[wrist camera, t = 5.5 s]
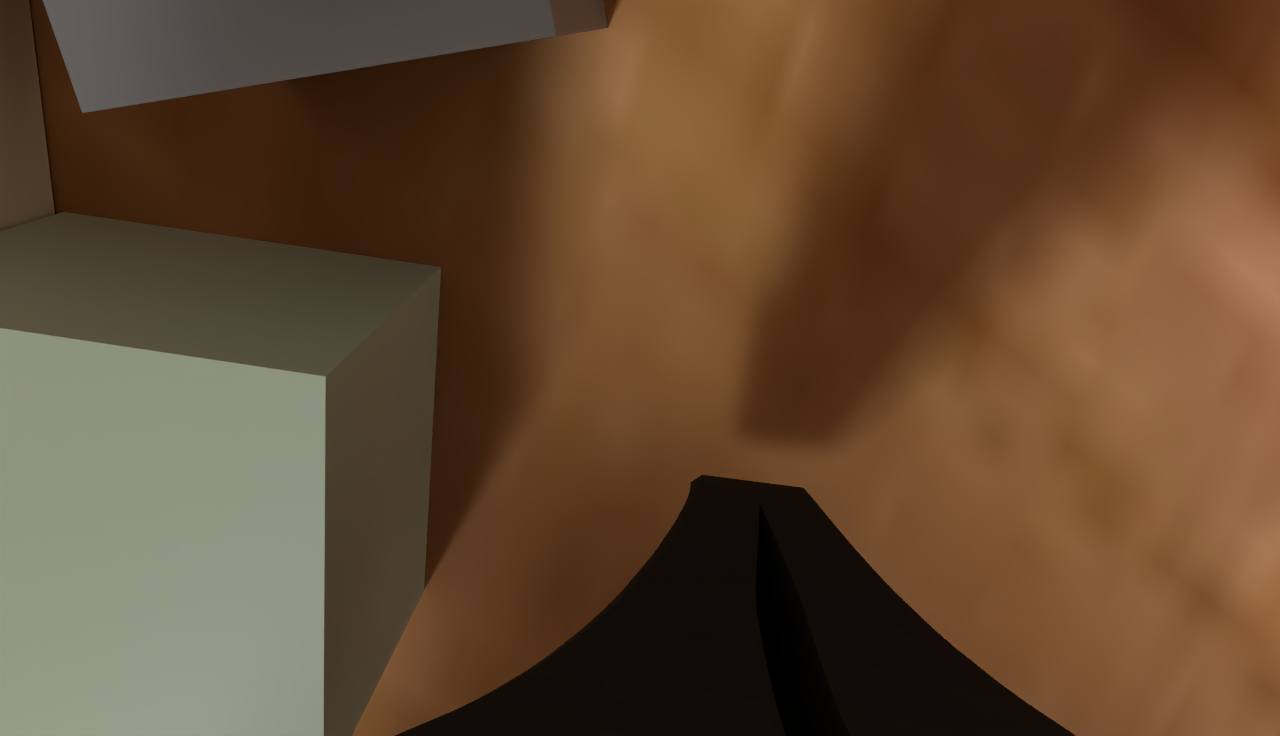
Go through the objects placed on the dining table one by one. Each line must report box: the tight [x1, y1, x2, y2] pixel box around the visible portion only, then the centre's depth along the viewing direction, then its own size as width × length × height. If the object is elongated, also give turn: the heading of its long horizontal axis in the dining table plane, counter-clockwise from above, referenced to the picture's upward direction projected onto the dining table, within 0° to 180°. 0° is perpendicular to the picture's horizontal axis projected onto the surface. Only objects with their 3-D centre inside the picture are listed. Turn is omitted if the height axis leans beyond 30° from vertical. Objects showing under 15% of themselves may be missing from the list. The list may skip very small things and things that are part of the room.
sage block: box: [0, 212, 441, 736], centre depth 11 cm, size 5×5×4 cm
